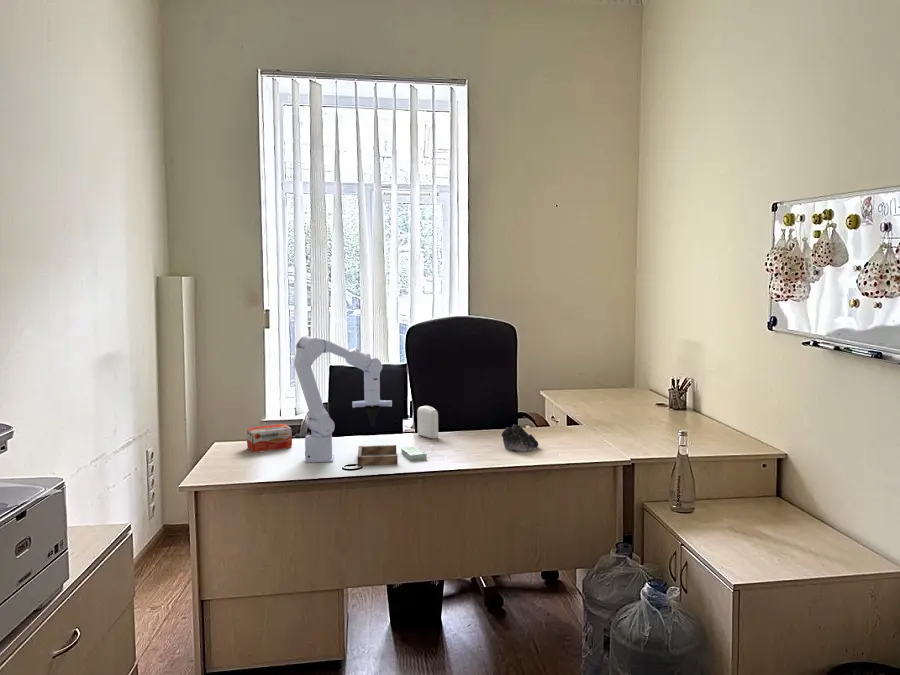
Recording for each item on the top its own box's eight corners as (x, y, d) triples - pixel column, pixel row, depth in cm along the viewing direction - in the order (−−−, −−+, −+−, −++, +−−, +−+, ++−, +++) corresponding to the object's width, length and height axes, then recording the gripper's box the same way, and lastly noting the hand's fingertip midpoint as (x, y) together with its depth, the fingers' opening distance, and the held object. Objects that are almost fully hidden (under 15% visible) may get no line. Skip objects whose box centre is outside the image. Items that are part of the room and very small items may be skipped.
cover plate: (410, 462, 245) (410, 455, 245) (401, 454, 256) (401, 448, 255) (426, 460, 248) (426, 453, 247) (417, 453, 258) (417, 446, 258)
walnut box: (357, 465, 240) (357, 457, 240) (358, 454, 255) (358, 446, 255) (397, 464, 241) (397, 455, 241) (396, 452, 257) (396, 444, 256)
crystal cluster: (538, 446, 269) (536, 420, 269) (538, 452, 255) (536, 425, 255) (503, 447, 270) (502, 422, 270) (502, 454, 257) (500, 427, 257)
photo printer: (415, 434, 285) (415, 405, 284) (424, 433, 287) (424, 403, 286) (431, 439, 277) (431, 408, 276) (439, 437, 280) (439, 407, 278)
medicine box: (252, 453, 258) (252, 432, 257) (246, 448, 264) (246, 428, 264) (292, 448, 265) (292, 427, 265) (285, 443, 272) (285, 423, 272)
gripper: (351, 391, 253) (352, 428, 254) (391, 390, 255) (392, 427, 256) (352, 388, 260) (353, 424, 261) (391, 387, 262) (391, 423, 263)
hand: (372, 425), depth 259 cm, fingers closed
